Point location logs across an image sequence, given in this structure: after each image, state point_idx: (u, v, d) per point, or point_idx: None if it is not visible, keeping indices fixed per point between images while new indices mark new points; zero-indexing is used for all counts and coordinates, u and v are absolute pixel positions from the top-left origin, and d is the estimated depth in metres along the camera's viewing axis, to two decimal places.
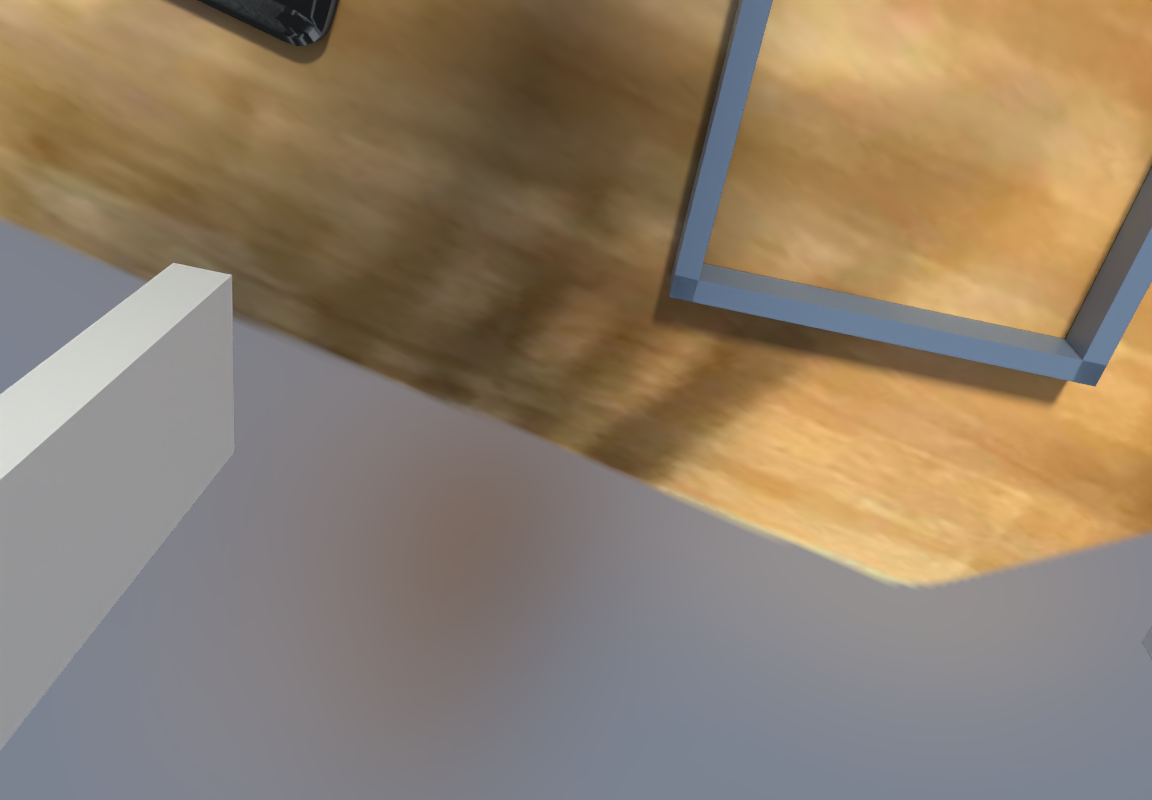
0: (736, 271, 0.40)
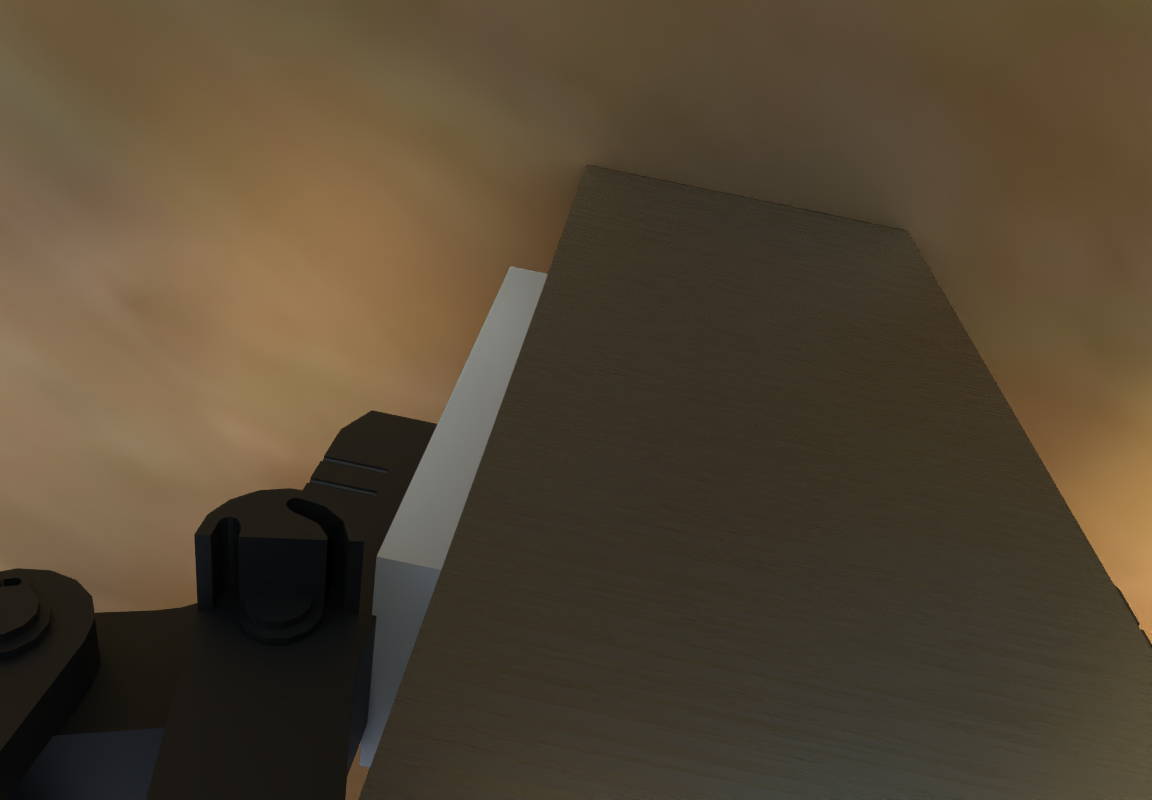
0: None
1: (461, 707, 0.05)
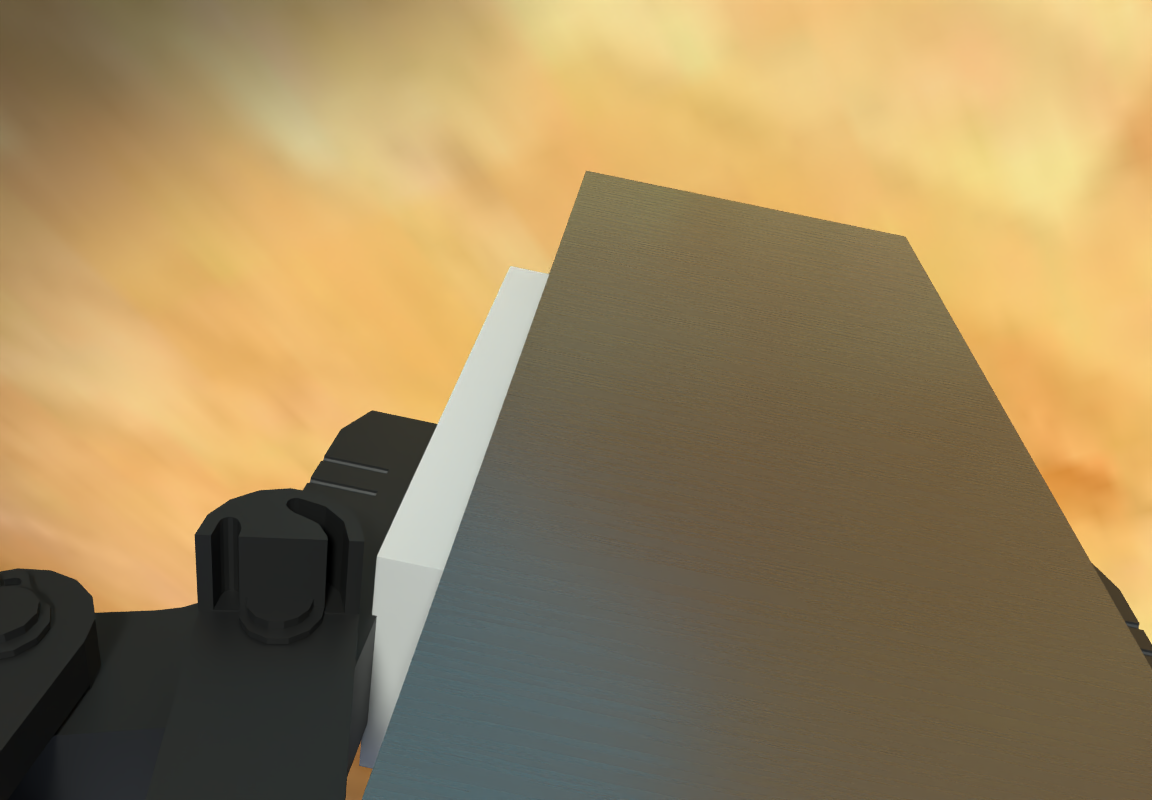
0: None
1: (459, 719, 0.05)
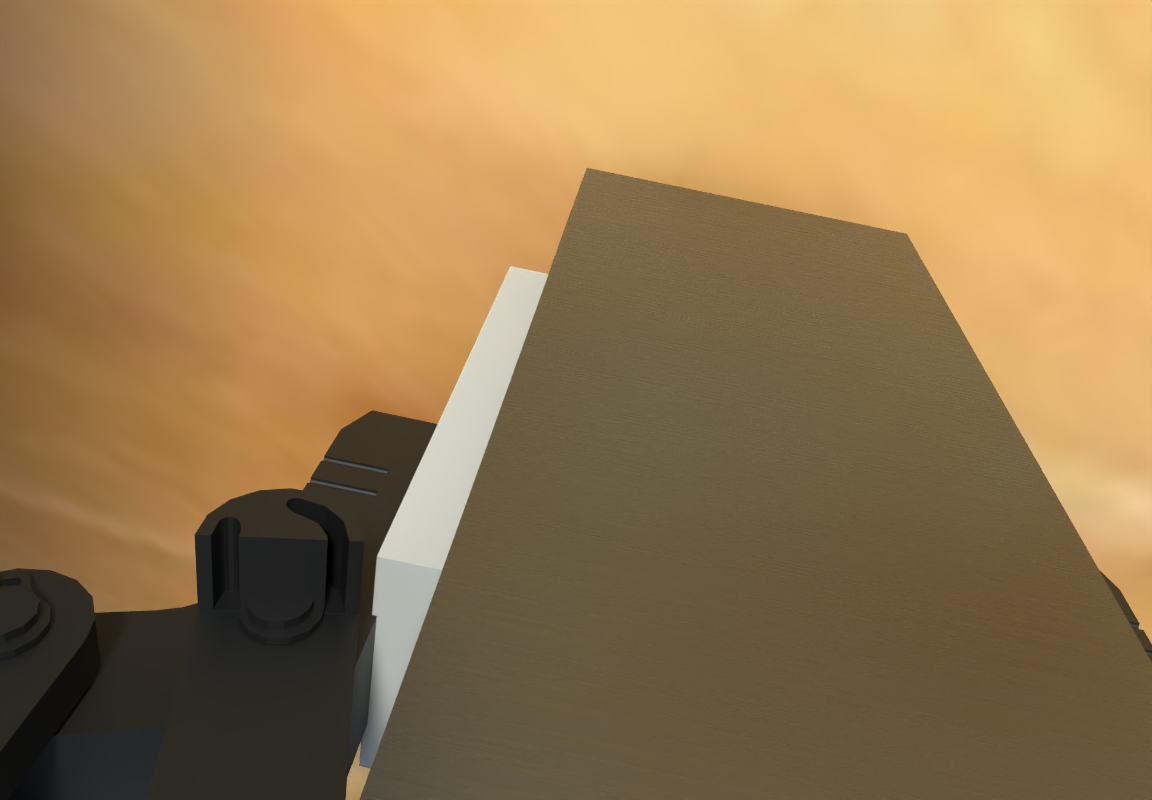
0: None
1: (458, 717, 0.05)
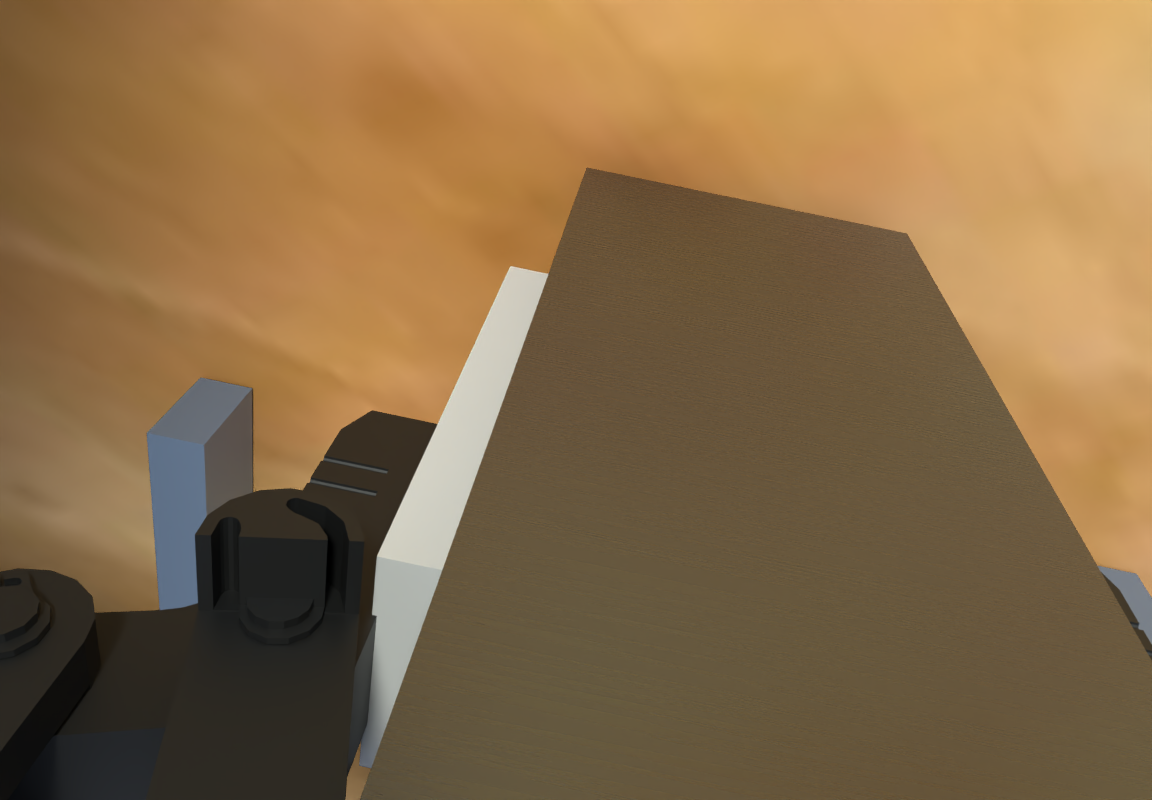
0: None
1: (460, 717, 0.05)
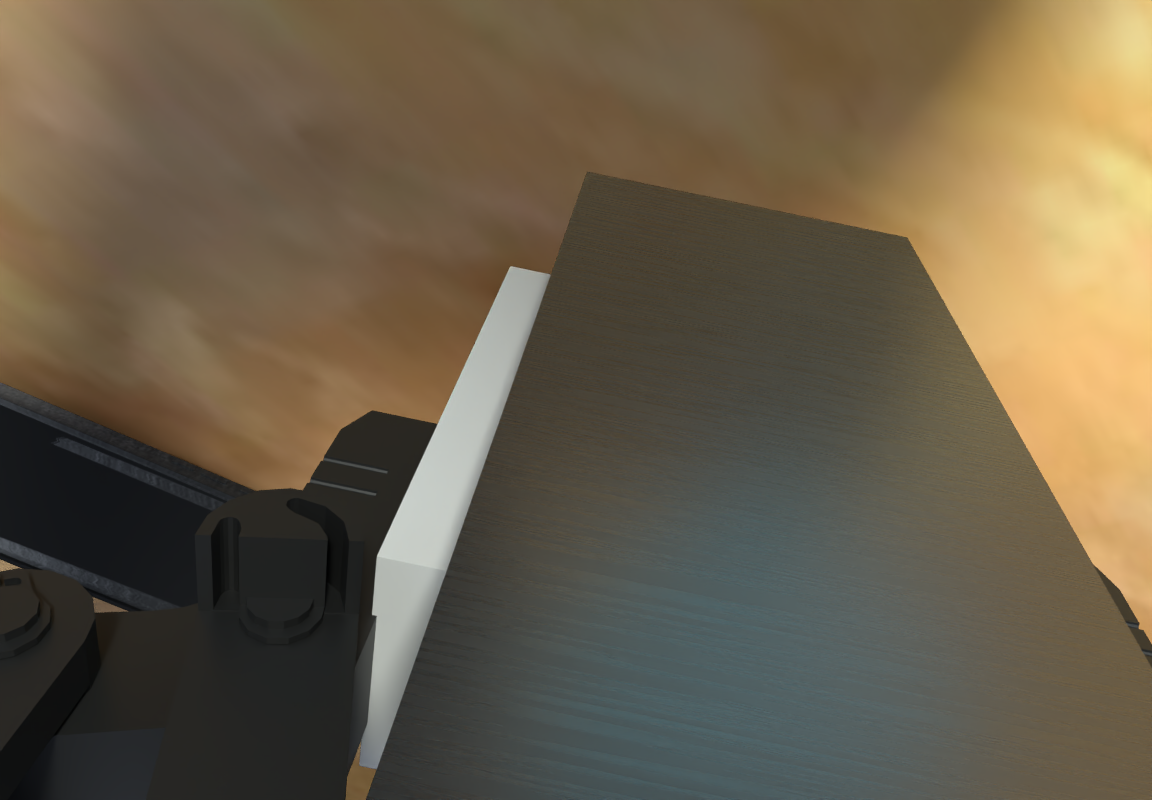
0: None
1: (462, 728, 0.05)
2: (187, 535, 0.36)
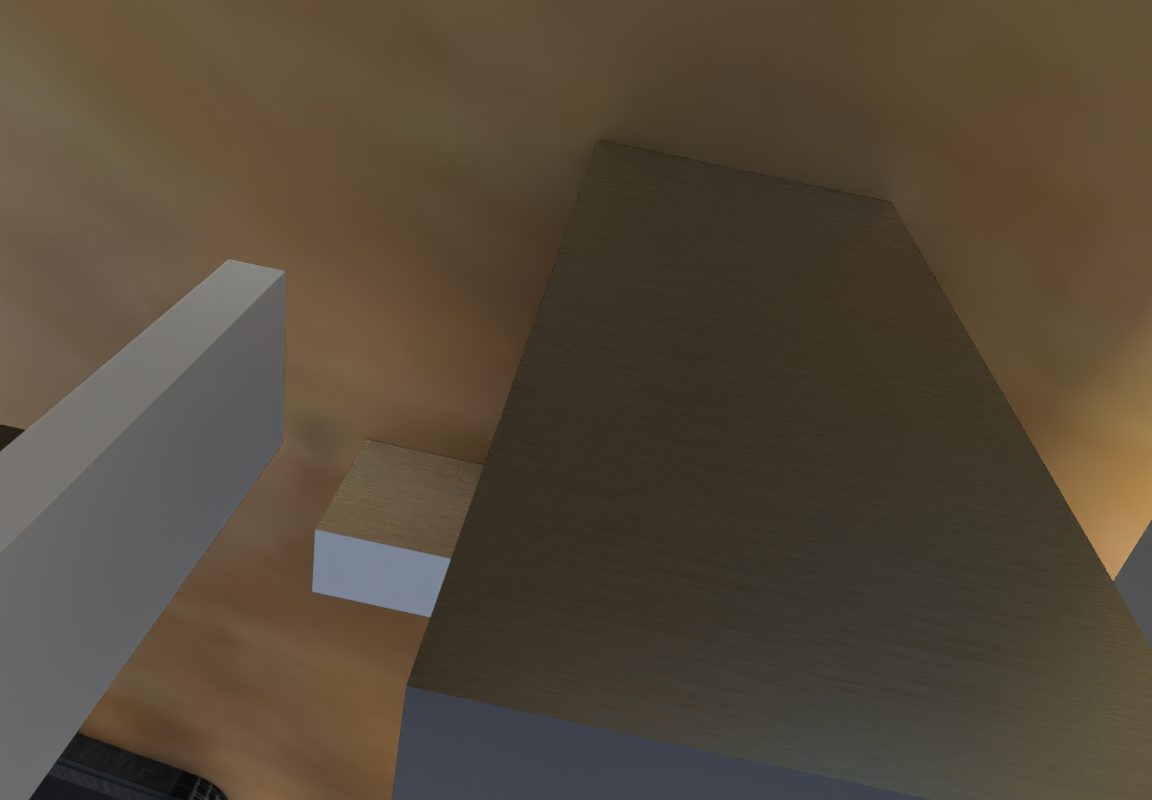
0: None
1: (513, 539, 0.06)
2: None
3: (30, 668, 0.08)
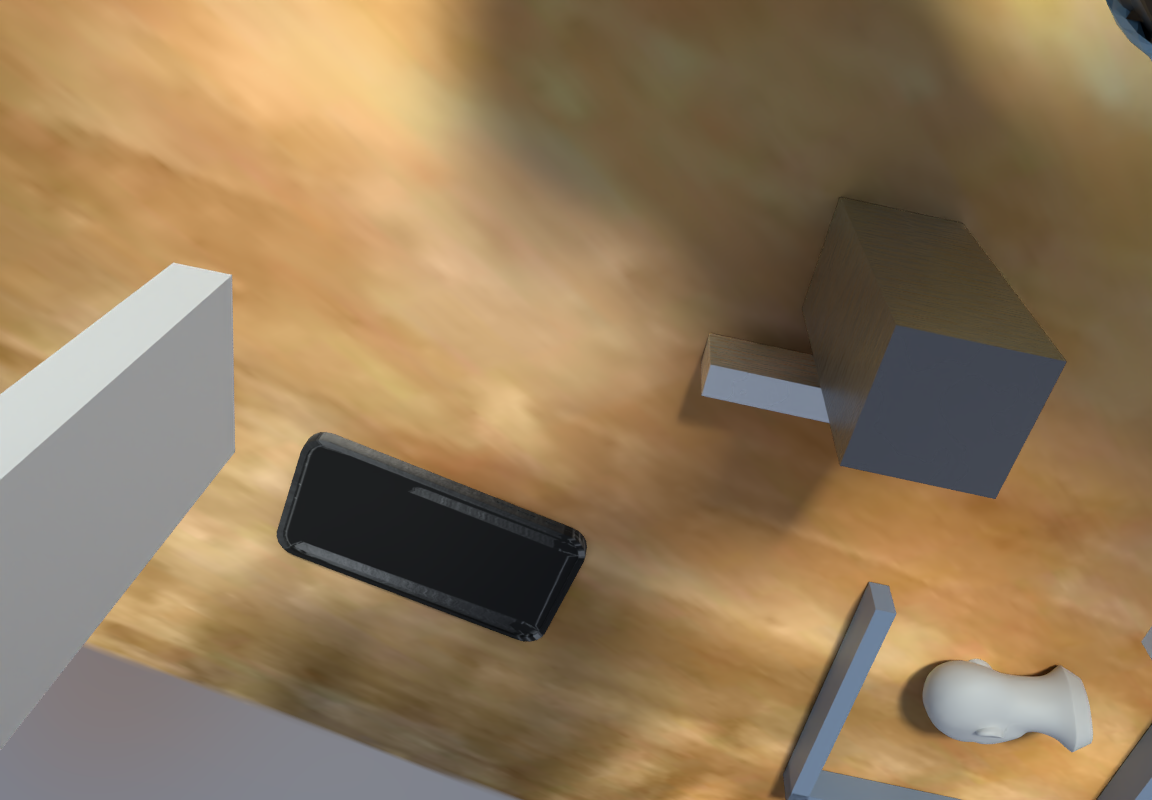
0: (833, 773, 0.53)
1: (899, 307, 0.28)
2: (502, 555, 0.47)
3: None
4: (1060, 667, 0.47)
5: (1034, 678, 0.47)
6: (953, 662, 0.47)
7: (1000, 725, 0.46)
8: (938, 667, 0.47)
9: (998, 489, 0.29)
